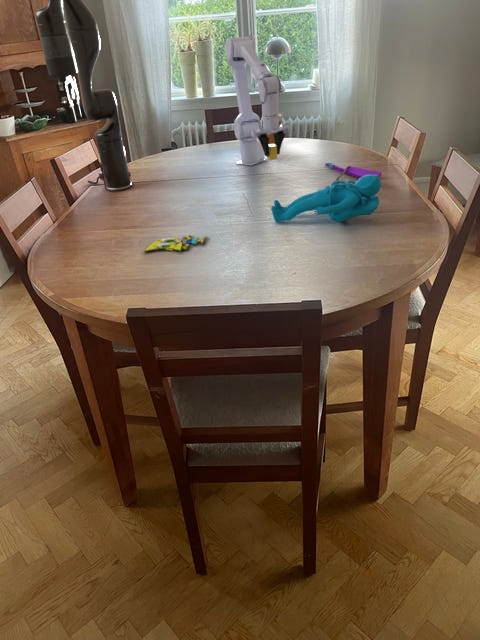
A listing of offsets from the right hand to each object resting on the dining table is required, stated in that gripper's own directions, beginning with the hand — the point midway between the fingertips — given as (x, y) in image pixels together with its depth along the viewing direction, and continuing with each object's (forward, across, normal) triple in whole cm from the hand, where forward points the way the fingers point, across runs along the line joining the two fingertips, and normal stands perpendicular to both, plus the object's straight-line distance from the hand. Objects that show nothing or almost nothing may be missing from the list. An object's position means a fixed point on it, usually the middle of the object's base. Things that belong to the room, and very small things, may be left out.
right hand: (272, 154), depth 175 cm
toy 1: (+7, -50, -43) cm, 66 cm away
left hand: (-23, -66, -11) cm, 70 cm away
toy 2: (+7, -8, -50) cm, 51 cm away
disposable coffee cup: (+7, +20, +42) cm, 48 cm away
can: (+1, 0, 0) cm, 1 cm away
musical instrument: (+7, +20, -19) cm, 28 cm away
